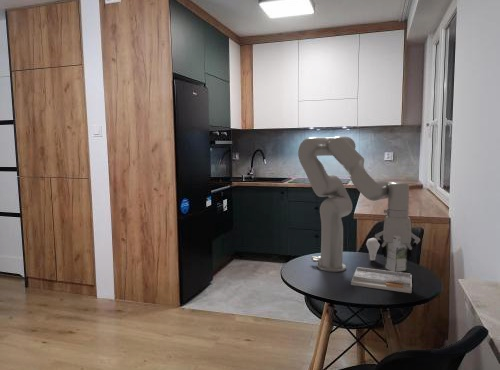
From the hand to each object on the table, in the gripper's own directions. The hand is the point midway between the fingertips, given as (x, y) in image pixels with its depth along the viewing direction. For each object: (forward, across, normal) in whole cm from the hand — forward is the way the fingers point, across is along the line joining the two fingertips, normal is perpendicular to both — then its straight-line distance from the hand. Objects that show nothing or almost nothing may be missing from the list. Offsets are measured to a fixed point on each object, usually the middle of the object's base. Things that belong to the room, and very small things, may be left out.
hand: (396, 257), depth 148 cm
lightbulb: (+11, -11, +27) cm, 31 cm away
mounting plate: (+10, -5, 0) cm, 12 cm away
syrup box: (+5, 0, 0) cm, 5 cm away
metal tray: (+9, -5, 0) cm, 11 cm away
